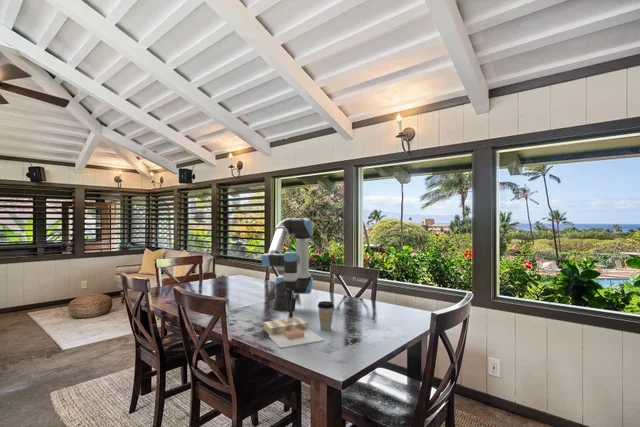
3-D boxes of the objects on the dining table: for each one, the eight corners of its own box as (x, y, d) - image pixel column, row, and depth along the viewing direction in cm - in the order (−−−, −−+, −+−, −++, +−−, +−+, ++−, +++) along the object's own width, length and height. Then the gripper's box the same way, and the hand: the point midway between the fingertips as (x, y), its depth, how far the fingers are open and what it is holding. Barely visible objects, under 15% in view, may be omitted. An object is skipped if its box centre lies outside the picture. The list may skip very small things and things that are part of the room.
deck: (299, 324, 195) (299, 317, 195) (307, 330, 184) (307, 322, 184) (263, 329, 185) (263, 322, 185) (270, 335, 174) (270, 328, 174)
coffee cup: (336, 328, 188) (336, 302, 188) (328, 333, 179) (328, 305, 180) (322, 325, 192) (322, 300, 193) (314, 330, 184) (314, 303, 185)
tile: (304, 332, 172) (304, 336, 172) (299, 329, 177) (299, 333, 177) (288, 335, 168) (288, 339, 168) (284, 331, 174) (284, 335, 173)
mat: (309, 329, 184) (309, 328, 184) (324, 340, 168) (324, 339, 168) (268, 336, 174) (268, 335, 174) (280, 348, 157) (280, 347, 157)
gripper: (280, 278, 183) (279, 320, 182) (288, 282, 171) (287, 327, 171) (292, 277, 186) (292, 319, 186) (301, 281, 175) (300, 325, 174)
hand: (290, 323), depth 178 cm, fingers closed
